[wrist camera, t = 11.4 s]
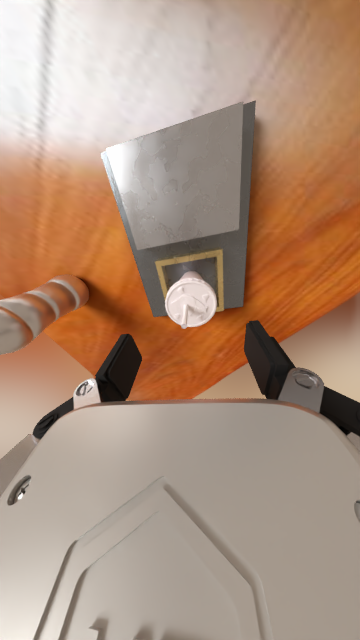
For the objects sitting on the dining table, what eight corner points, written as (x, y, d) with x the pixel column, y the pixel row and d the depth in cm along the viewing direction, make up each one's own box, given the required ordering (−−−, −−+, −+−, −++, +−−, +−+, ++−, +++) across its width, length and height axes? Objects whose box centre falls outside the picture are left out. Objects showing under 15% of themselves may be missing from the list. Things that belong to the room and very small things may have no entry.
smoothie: (176, 259, 23) (159, 289, 12) (214, 266, 24) (234, 302, 12) (171, 295, 27) (155, 346, 15) (204, 300, 27) (213, 355, 15)
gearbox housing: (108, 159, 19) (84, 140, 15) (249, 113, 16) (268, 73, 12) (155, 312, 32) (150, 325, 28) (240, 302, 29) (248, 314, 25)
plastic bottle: (82, 268, 28) (-90, 330, 11) (99, 299, 31) (-10, 382, 14) (55, 275, 29) (-137, 339, 12) (75, 304, 32) (-52, 386, 16)
